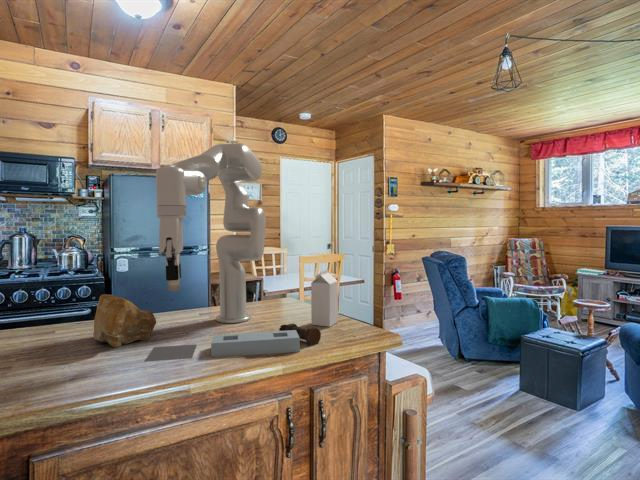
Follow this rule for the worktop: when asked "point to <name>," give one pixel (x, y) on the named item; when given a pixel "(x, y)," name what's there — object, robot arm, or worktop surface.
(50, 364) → the worktop surface
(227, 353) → the hole block
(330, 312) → the milk carton
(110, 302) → the rough brown rock
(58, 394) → the worktop surface
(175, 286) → the peg
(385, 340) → the worktop surface
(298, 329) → the bolt
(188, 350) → the mat
